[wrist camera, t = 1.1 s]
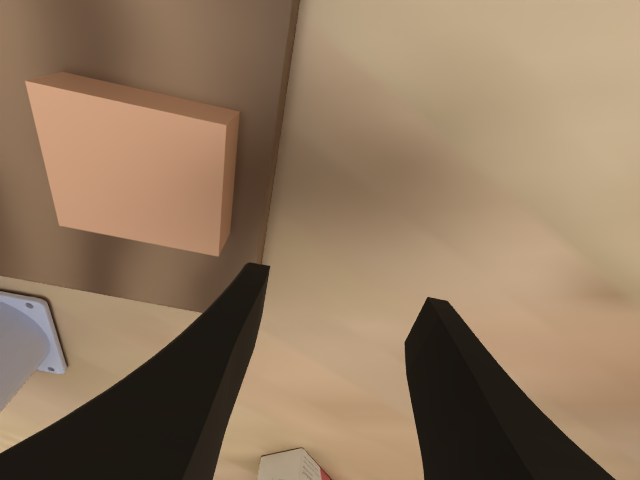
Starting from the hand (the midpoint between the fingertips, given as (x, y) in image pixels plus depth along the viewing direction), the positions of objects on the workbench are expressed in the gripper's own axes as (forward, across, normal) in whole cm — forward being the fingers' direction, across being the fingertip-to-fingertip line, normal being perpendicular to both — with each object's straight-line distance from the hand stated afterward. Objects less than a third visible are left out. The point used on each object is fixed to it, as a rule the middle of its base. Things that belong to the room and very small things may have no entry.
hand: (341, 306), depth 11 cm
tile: (+7, +8, 0) cm, 11 cm away
